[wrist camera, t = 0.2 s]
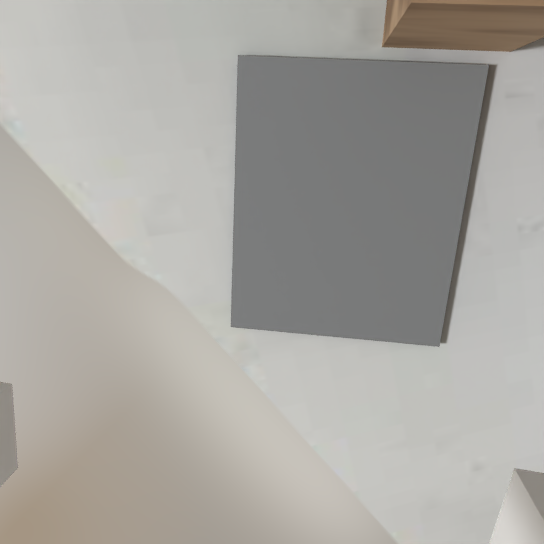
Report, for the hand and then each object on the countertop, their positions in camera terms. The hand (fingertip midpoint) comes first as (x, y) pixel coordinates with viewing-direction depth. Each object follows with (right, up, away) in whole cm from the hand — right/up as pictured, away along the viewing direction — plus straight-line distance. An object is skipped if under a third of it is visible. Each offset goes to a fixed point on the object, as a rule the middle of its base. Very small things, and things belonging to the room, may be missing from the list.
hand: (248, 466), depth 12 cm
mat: (+7, +10, +25) cm, 28 cm away
